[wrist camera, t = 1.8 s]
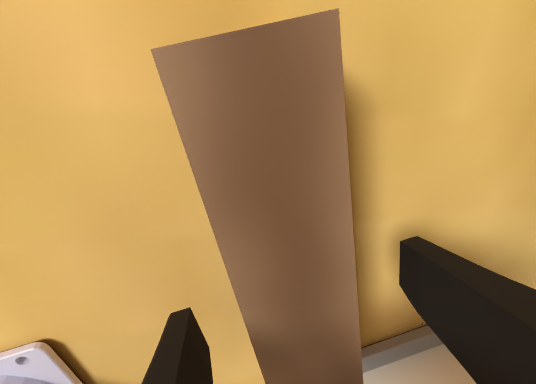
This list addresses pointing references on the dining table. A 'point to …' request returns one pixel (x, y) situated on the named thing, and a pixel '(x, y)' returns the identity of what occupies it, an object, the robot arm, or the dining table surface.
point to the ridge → (412, 361)
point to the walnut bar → (276, 186)
